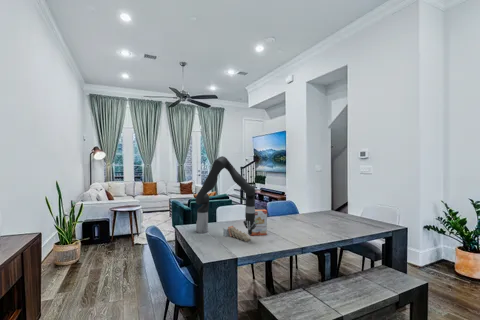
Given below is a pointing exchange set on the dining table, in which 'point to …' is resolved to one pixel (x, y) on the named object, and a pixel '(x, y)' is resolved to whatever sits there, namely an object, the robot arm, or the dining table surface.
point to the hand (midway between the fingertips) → (249, 234)
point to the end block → (226, 232)
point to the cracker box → (260, 223)
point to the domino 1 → (230, 231)
